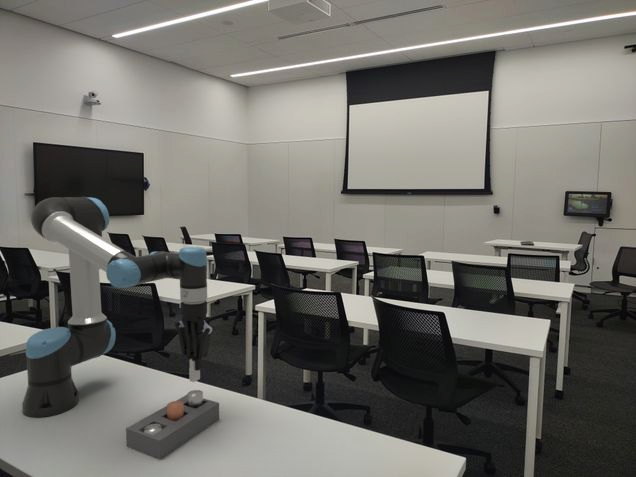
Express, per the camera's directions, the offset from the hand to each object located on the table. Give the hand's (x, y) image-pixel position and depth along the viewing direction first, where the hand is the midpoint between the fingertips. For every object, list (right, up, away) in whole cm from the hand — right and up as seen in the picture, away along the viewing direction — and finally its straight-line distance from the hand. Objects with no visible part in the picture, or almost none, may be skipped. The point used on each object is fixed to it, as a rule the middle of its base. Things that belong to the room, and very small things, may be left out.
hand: (195, 379), depth 131 cm
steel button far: (0, -9, +1) cm, 9 cm away
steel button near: (-8, -13, -13) cm, 20 cm away
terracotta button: (-4, -9, -6) cm, 12 cm away
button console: (-4, -13, -5) cm, 15 cm away
